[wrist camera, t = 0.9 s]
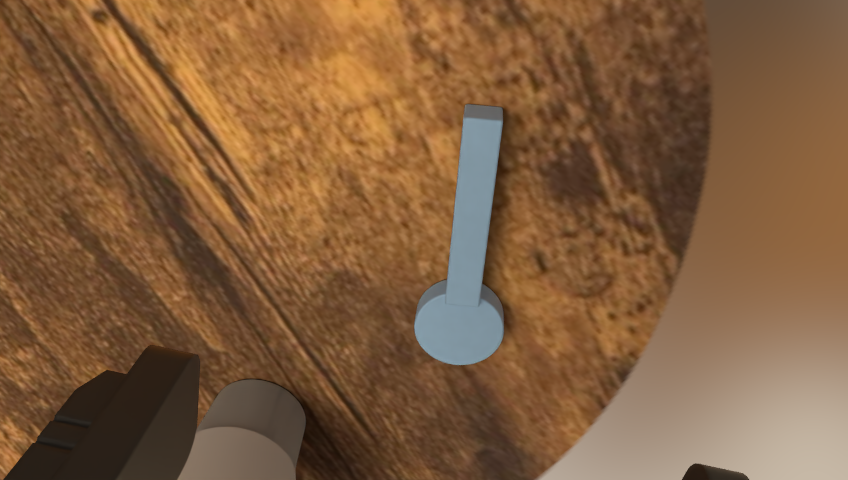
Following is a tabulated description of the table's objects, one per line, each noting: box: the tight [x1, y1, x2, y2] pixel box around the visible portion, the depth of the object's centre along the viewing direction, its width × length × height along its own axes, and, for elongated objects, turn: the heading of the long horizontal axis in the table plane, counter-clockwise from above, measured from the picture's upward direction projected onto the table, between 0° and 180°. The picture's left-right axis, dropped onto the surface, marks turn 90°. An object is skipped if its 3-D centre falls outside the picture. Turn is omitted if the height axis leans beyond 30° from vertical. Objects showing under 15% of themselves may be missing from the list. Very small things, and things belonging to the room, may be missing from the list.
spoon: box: [414, 104, 504, 365], centre depth 28 cm, size 11×4×2 cm, turn 176°
